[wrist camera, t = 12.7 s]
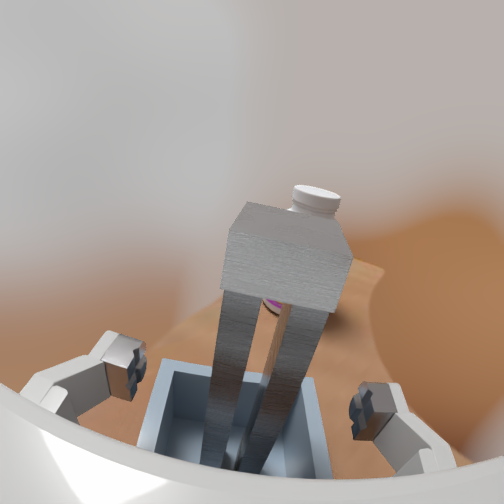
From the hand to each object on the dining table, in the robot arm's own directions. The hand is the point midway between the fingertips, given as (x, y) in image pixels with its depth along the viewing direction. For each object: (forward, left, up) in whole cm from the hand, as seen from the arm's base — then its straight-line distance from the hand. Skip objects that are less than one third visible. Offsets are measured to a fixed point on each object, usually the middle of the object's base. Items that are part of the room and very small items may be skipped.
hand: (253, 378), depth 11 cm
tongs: (0, 0, -9) cm, 9 cm away
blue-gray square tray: (0, 0, -10) cm, 10 cm away
